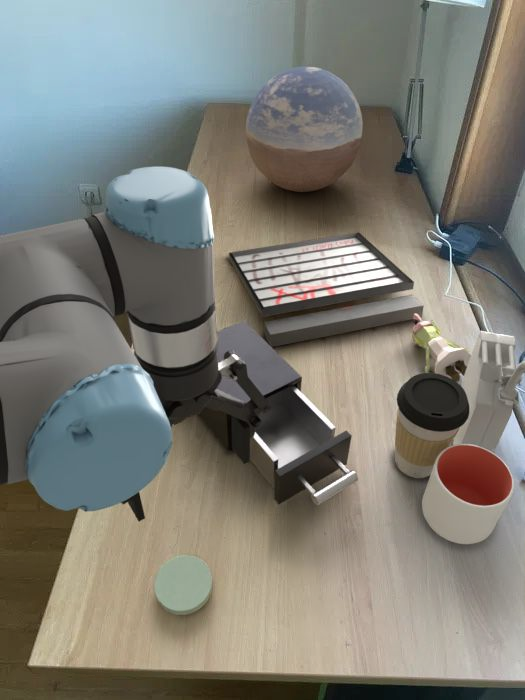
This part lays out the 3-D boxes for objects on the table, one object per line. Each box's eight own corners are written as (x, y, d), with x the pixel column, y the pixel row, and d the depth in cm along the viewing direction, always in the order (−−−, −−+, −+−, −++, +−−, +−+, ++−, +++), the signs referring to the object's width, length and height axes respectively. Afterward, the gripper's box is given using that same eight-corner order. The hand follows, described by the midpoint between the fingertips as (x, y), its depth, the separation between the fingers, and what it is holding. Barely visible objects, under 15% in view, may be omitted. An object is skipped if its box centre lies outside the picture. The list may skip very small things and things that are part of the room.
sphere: (312, 154, 170) (320, 45, 150) (378, 194, 152) (396, 75, 131) (226, 177, 159) (222, 62, 138) (286, 224, 140) (290, 98, 120)
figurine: (485, 374, 98) (438, 326, 109) (481, 347, 93) (432, 299, 104) (441, 398, 98) (399, 346, 109) (435, 372, 93) (391, 321, 104)
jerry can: (487, 486, 83) (545, 365, 66) (452, 479, 84) (501, 358, 67) (484, 411, 94) (533, 290, 77) (453, 405, 95) (495, 285, 78)
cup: (415, 483, 84) (429, 441, 77) (483, 487, 83) (503, 445, 77) (425, 546, 76) (442, 505, 70) (500, 550, 76) (524, 510, 69)
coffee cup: (445, 440, 90) (469, 374, 80) (449, 493, 83) (476, 427, 72) (383, 432, 91) (398, 365, 81) (382, 482, 84) (399, 416, 74)
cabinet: (299, 414, 94) (302, 376, 88) (228, 451, 88) (226, 414, 82) (244, 356, 104) (244, 320, 98) (178, 386, 98) (173, 349, 92)
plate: (172, 630, 68) (170, 623, 67) (146, 582, 72) (144, 574, 71) (223, 597, 71) (222, 589, 70) (195, 553, 75) (194, 544, 74)
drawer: (369, 488, 82) (375, 459, 77) (299, 531, 77) (302, 503, 72) (286, 401, 95) (287, 371, 90) (222, 433, 89) (220, 404, 85)
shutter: (231, 280, 131) (271, 353, 106) (228, 252, 127) (268, 322, 102) (358, 253, 137) (424, 316, 112) (359, 226, 133) (427, 286, 108)
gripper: (266, 280, 58) (262, 416, 72) (22, 371, 47) (74, 511, 62) (310, 318, 54) (297, 455, 68) (52, 429, 43) (100, 565, 57)
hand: (191, 482), depth 65 cm, fingers open, 13 cm apart
